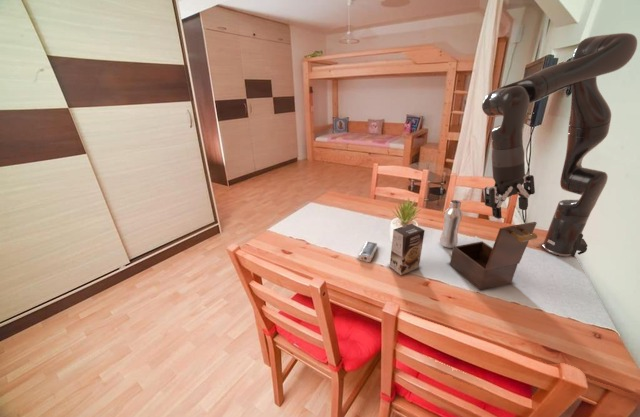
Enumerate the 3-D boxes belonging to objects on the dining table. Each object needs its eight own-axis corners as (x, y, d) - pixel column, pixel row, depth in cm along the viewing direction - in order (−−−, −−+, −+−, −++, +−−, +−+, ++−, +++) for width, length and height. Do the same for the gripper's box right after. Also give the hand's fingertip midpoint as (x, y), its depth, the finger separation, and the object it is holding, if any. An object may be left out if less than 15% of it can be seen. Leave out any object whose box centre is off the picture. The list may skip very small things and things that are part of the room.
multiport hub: (377, 248, 110) (377, 243, 109) (370, 262, 101) (370, 257, 100) (366, 245, 112) (367, 241, 111) (359, 259, 103) (359, 254, 102)
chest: (449, 264, 98) (453, 246, 95) (477, 258, 101) (482, 241, 98) (480, 290, 86) (485, 270, 82) (511, 282, 88) (517, 263, 85)
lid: (499, 227, 75) (514, 236, 71) (534, 221, 78) (550, 229, 74) (484, 269, 82) (497, 279, 78) (517, 262, 85) (530, 271, 81)
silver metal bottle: (458, 250, 106) (467, 205, 98) (440, 249, 108) (448, 204, 99) (454, 242, 112) (463, 199, 104) (437, 241, 113) (444, 198, 105)
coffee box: (401, 275, 93) (405, 237, 87) (389, 266, 99) (392, 228, 92) (419, 267, 97) (425, 230, 90) (407, 259, 102) (411, 222, 96)
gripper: (495, 171, 70) (499, 224, 75) (542, 155, 71) (543, 209, 76) (475, 167, 77) (480, 217, 82) (518, 153, 78) (520, 203, 83)
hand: (510, 213), depth 79 cm, fingers open, 8 cm apart
